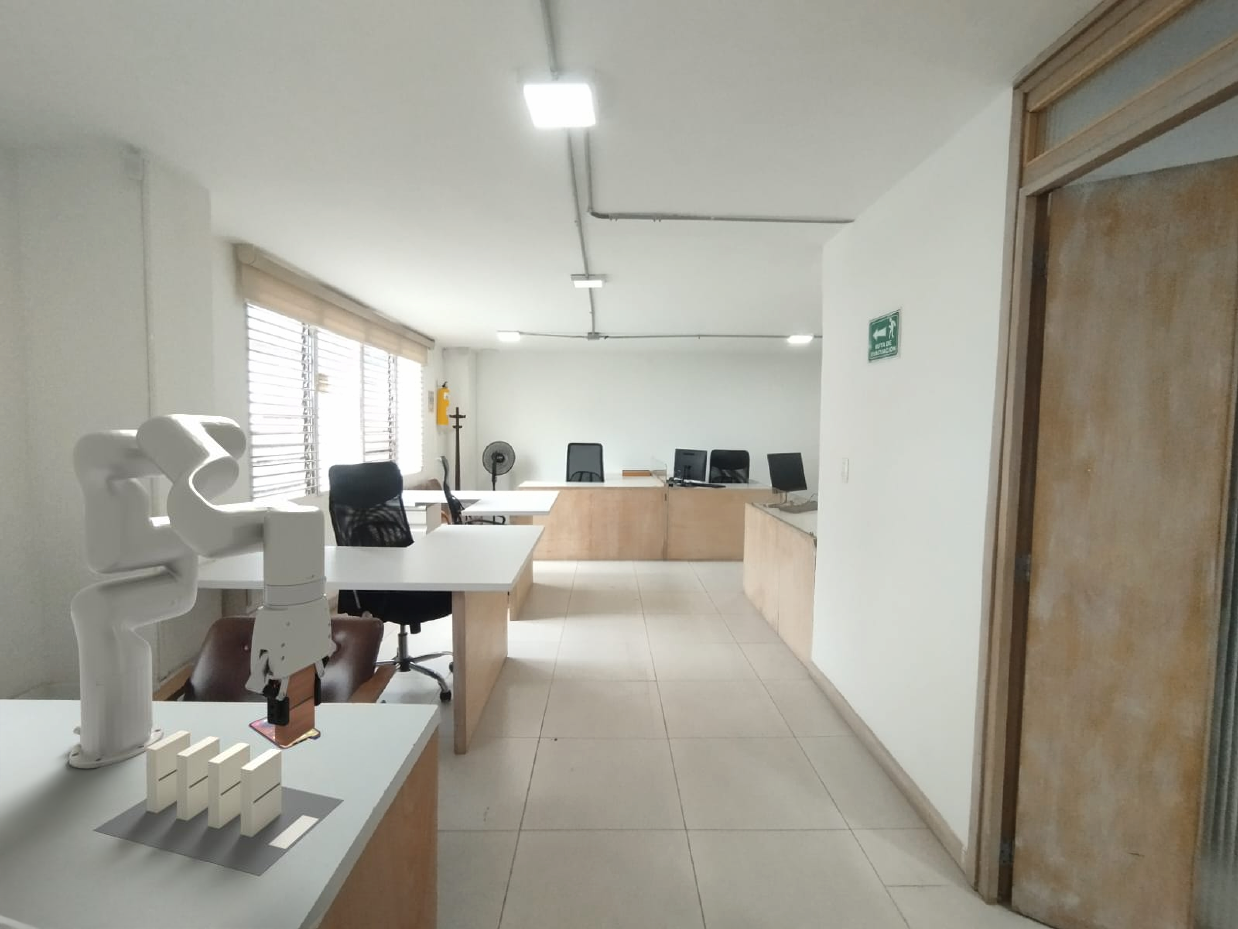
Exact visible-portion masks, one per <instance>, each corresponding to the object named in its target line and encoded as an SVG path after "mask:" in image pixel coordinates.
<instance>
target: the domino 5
mask: <svg viewBox="0 0 1238 929" xmlns="http://www.w3.org/2000/svg"><path fill="white" fill-rule="evenodd" d="M314 681H315V667H314V663H313V664H312V665H310V666H308V667H306V668H304V669H302V670H300V671H298V672H296V673H294V674H292V675H290V677H289V681H288V686H287V691H286V695H285V697H289V724H288V725H286V726H279V725H275V744H278V745H283V746H288V745H289V744H291V743H292V742H294V741H295V740H297V739H298V738H300V737H301V736H303V735H304V734H306V733H307V732H308V731H310V730H311V729H313V728H316V727H315V726H316V722H315V721H316V715H315V713H316V709H315V708H316V706H314ZM278 682H279V681H278V680H275V685H274V687H276V688H277V687H278ZM275 744H274V745H275Z"/></svg>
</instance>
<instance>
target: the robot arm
mask: <svg viewBox="0 0 1238 929" xmlns="http://www.w3.org/2000/svg"><path fill="white" fill-rule="evenodd" d="M246 437H247V436H246V434H245V432H244V429H243V428H242V427H241V426H240V425H239V424H238V423H237V422H236V421H234V420H233V419H230V418H229V417H224V416H217V415H198V414H197V415H195V414H176V413H174V414H172V413H171V414H170V413H169V414H168V413H167V414H160V415H156V416H153V417H150V418H148V419H146V420H145V421H143V422H142V423H141V424H140V425H139V426H138V428H137V429H104V430H96V431H92V432H88V433H86V434H84V435H82V436H81V437H80V438H79V439H78V440H77V441H76V443H75V446H74V448H73V451H72V466H73V470H74V473H75V476H76V478H77V482H78V483H79V486H80V488H81V491H82V494H83V497H84V517H83V518H84V521H83V524H84V528H83V530H84V531H83V539H84V540H83V553H84V562H85V565H86V566H87V568H88V570H90V571H91V572H93V573H94V574H98V575H112V574H113V575H114V574H122V573H129V572H134V571H141V570H147V569H152V568H157V567H159V571H154V572H153V571H152V572H149V573H142V574H135V575H129V576H125V577H118V578H114V579H109V580H105V581H104V580H103V581H100V582H96V583H94V584H91V585H88V586H86V587H84V588H82V589H81V590H79V591H78V592H77V593H76V594H75V595H74V596H73V597H72V599H71V602H70V616H71V620H72V623H73V628H74V631H75V632H74V633H75V635H76V641H77V646H78V660H79V682H80V683H79V689H80V692H79V693H80V696H79V697H80V698H79V699H80V725H77V726H76V727H75V728H74V729H73V730H72V732H73V734H75V735H78V736H79V741H80V742H79V744H77V746H75V747H74V748H73V749H72V750H71V752H70V753H69V755H68V763H69V765H70V766H72V767H74V768H78V769H96V768H101V767H103V766H107V765H111V764H116V763H119V762H123V761H126V760H128V759H131V758H133V757H135V756H138V755H141V754H142V753H144V752H146V748H147V747H149V746H151V745H153V744H155V743H156V742H158V741H160V740H162V739H163V737H164V728H163V727H162V726H161V725H159V724H155V723H154V722H153V717H154V716H153V656H152V653H153V652H152V648H151V645H150V644H149V642H148V641H146V640H145V639H144V638H143V637H142V636H140V635H138V634H137V633H135V630H136V629H138V628H140V627H143V626H146V625H150V624H153V623H154V624H155V623H157V622H162V621H165V620H169V619H173V618H176V617H177V618H178V617H180V616H182V615H185V614H187V613H188V612H190V611H191V609H193V607H194V605H195V603H196V600H197V595H198V582H199V581H198V579H199V576H198V575H199V556H200V557H203V558H205V559H210V560H221V559H228V558H233V557H238V556H244V555H249V554H253V553H255V554H256V553H261V552H262V554H263V555H262V556H263V559H262V561H263V565H262V568H263V570H262V571H263V580H262V582H263V605H261V606H259V607H258V608H257V612H256V615H255V620H254V625H253V631H252V632H253V633H252V637H251V639H252V640H251V650H250V675H249V678H248V679H247V681H246V683H245V685H244V689H246V690H248V691H252V692H254V693H256V694H259V695H261V696H262V698H264V699H266V710H267V714H266V715H267V716H266V717H267V722H268V723H269V724H273V725H279V726H286V725H288V724H289V697H285V695H286V691H287V686H288V681H289V677H290V675H292V674H294V673H296V672H298V671H300V670H302V669H304V668H306V667H308V666H310V665H312V664H313V663H314V667H315V681H314V706H315V707H319V705H321V703H322V678H323V677H324V676H325V673H326V672H325V671H326V670H325V668H326V666H327V665H328V664H329V661H330V658H331V657H332V655H333V654H334V652H335V650H336V649H337V644H336V642H334V640H333V639H332V625H331V624H332V622H331V615H330V614H331V612H330V606H329V601H328V597H327V594H326V593H325V592H326V591H325V583H326V582H327V577H326V575H325V574H326V572H325V571H326V569H325V566H326V564H325V558H326V557H325V555H326V552H325V551H326V550H325V545H326V544H325V534H326V533H325V528H326V527H325V526H326V525H325V520H326V519H325V514H324V512H323V510H322V509H321V508H319V507H317V506H313V505H301V504H300V505H298V504H297V503H294V502H292V501H290V500H284V499H275V500H261V501H249V502H240V503H239V502H238V503H225V504H218V505H215V504H214V505H213V504H211V503H209V502H210V501H212V500H213V499H215V498H218V497H220V496H221V495H223V494H225V493H226V492H227V491H228V490H230V489H231V488H232V487H233V486H234V485H235V483H236V482H237V481H238V478H239V475H240V467H239V463H238V461H239V460H240V459H241V458H242V457H243V455H244V453H245V452H246V448H247V438H246ZM145 478H146V479H148V478H167V479H168V480H169V482H171V483H172V485H171V488H170V489H169V492H168V494H167V495H168V496H167V498H166V513H167V515H163V516H153V517H152V516H151V496H150V493H149V491H148V489H147V488H146V487H145V486H144V485H143V484H142V483H141V481H139V479H145ZM275 680H278V681H279V682H278V687H277V688H276V687H275Z"/></svg>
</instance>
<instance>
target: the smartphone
mask: <svg viewBox="0 0 1238 929" xmlns="http://www.w3.org/2000/svg"><path fill="white" fill-rule="evenodd" d="M248 728H250V729H252V730H253V731H255V732H256V733H257V734H259V735H261V737H263V738H264V739H265V740H268V741H269V742H270V743H272V744H273V745H274V746H275V747H277V748H279V750H287V749H290V748H292V747H295V746H297V745H298V744H299V745H300V744H301V743H303V742H305V741H307V740H316V739H318V738H320V737H321V735H322V734H321V733H322V732H321V731H320V730H318V729H317V728H316V727H314V728H313V729H311V730H310V731H308V732H307V733H306V734H304V735H303V736H301V737H300V738H298V739H297V740H295V741H294V742H292V743H291V744H289V745H288V746H283V745H278V744H275V725H273V724H269V723H268V722H267V716H266V717H263V718H260V719H258V720H255V721H252V722H250V723H249V724H248Z"/></svg>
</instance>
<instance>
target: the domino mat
mask: <svg viewBox="0 0 1238 929" xmlns="http://www.w3.org/2000/svg"><path fill="white" fill-rule="evenodd" d="M344 801H345V800H344V799H340V798H336V797H332V796H327V795H323V794H318V793H315V792H314V793H313V792H309V791H304V790H301V789H295V788H291V787H287V786H282V785H281V814H280V815H279V816H277V817H276V818H275V819H274V820H272V821H271V822H270V823H269V824H267V825H266V826H265V827H264V828H262V829H261V830H260V831H259V832H257V833H256V834H255V835H254V836H253V837H250V836H246V835H242V834H241V813H240V814H238V815H237V816H236V817H234V818H233V819H232V820H230V821H229V822H228V823H226V824H225V825H224V826H222V827H221V828H219V829H218V828H214V827H210V826H208V807H207V808H205V809H204V810H203V811H201V812H200V813H198V814H197V815H195V816H194V817H192V818H191V819H189V820H188V821H186V820H182V819H179V818H177V801H175V802H174V803H172V804H171V805H169V806H167V807H166V808H164V809H163V810H161V811H159V812H158V813H155V812H151V811H147V797H146V798H144V799H143V800H141V801H140V802H138V803H137V804H134V805H133V806H131V807H129V808H128V809H126V810H125V811H123V812H121V813H120V814H118V815H116V816H114V817H113V818H110V820H108V821H106V822H104V823H103V824H101V825H99V826H98V827H96V828H95V829H93V830H92V831H94V832H98V833H102V834H105V835H109V836H112V837H116V838H119V839H124V840H127V841H130V842H131V841H132V842H134V843H138V844H141V845H145V846H148V847H153V848H156V849H159V850H160V849H161V850H162V851H163V850H164V851H166V852H171V853H175V854H178V855H182V856H185V857H188V858H189V857H190V858H193V859H197V860H201V861H204V862H208V863H212V864H215V865H219V866H223V867H226V868H230V869H233V870H238V871H241V872H244V873H249V874H251V875H256V876H261V875H263V874H264V873H265V872H266V871H267V870H268V869H270V868H271V866H273V865H274V864H275V863H276V862H278V860H279V859H281V858H282V857H283V856H284V855H285V854H286V853H287V852H288V851H290V850H291V849H292V848H293V847H294V846H295V845H296V844H297V843H298V842H299V841H301V840H302V839H303V837H305V836H307V834H308V833H309V832H310V831H312V830H313V829H314V828H315V827H316V826H317V825H318V824H320V823H321V821H322V820H324V819H325V818H326V817H327V816H328V815H330V813H332V811H334V810H335V809H336V808H337V807H338V806H340V804H342V802H344Z"/></svg>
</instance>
